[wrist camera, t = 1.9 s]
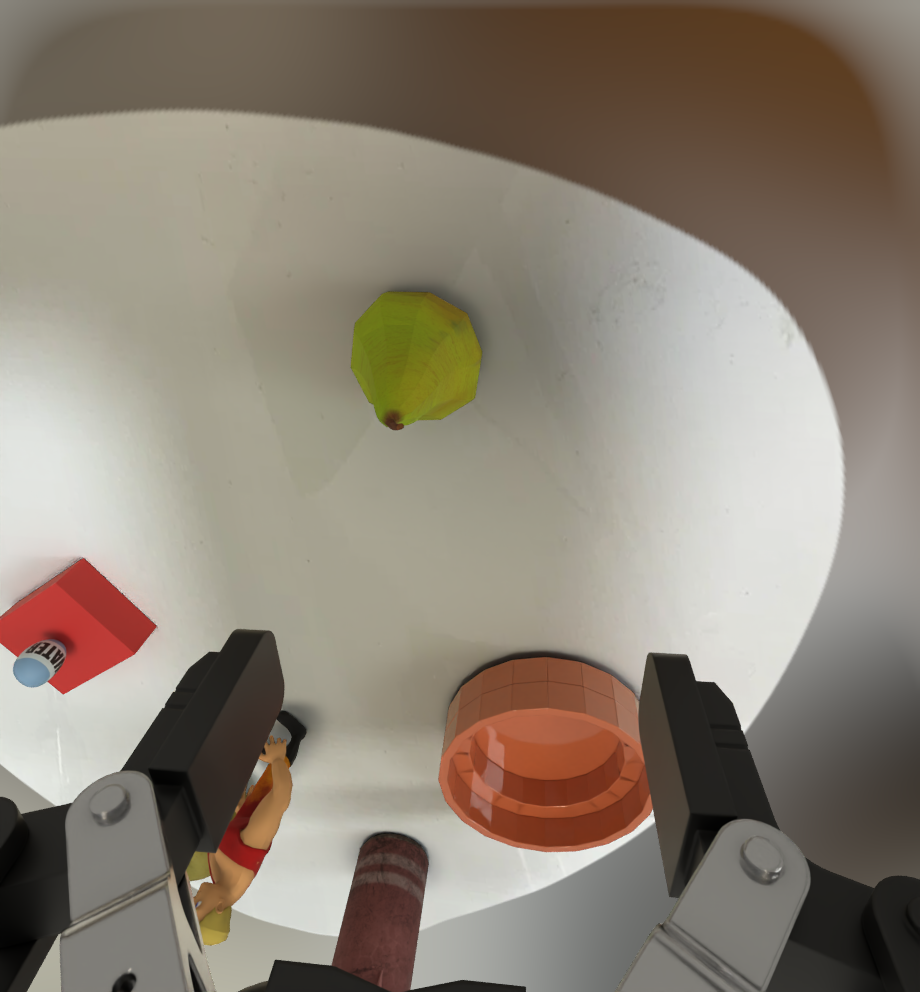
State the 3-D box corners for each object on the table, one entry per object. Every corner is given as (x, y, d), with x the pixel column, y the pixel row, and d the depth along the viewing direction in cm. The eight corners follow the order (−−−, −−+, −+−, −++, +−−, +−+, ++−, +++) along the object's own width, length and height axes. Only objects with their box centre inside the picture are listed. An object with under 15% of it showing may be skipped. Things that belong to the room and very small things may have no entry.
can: (436, 839, 53) (407, 1043, 41) (421, 879, 56) (390, 1080, 44) (367, 822, 53) (317, 1022, 41) (356, 863, 56) (307, 1061, 44)
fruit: (342, 336, 33) (254, 422, 22) (424, 250, 30) (368, 302, 20) (428, 421, 35) (382, 537, 24) (511, 347, 32) (502, 441, 22)
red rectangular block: (83, 557, 42) (15, 619, 37) (156, 626, 44) (103, 693, 39) (14, 604, 45) (-58, 667, 39) (87, 666, 47) (28, 734, 42)
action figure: (283, 689, 46) (185, 901, 33) (327, 708, 47) (248, 924, 34) (245, 760, 51) (146, 971, 38) (286, 777, 51) (202, 991, 38)
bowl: (595, 623, 40) (603, 680, 36) (676, 760, 46) (691, 824, 41) (411, 689, 45) (398, 746, 40) (505, 806, 50) (502, 869, 46)
